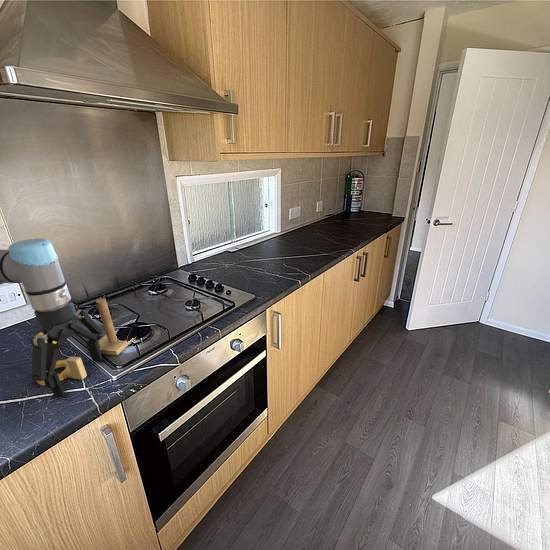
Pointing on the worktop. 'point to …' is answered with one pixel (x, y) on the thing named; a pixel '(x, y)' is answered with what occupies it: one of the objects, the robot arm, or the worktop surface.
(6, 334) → the worktop surface
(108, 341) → the peg stand
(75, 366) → the hang ring
